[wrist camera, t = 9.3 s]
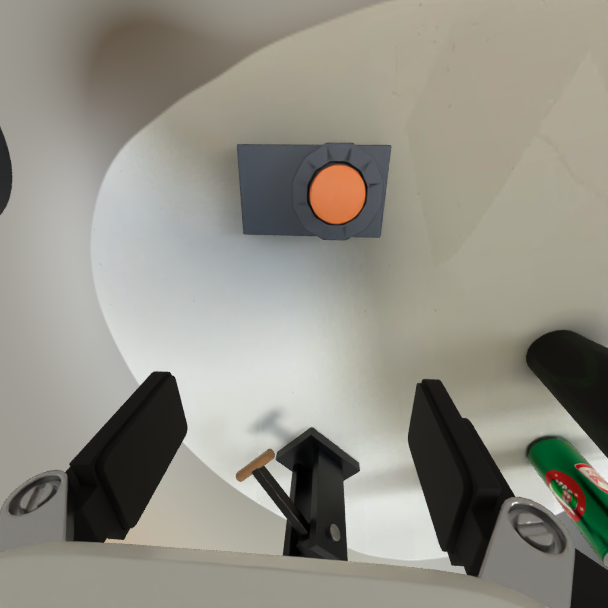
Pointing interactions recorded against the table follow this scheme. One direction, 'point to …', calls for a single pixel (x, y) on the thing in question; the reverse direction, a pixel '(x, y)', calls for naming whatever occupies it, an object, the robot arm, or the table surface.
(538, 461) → the soda can
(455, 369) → the table surface
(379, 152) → the control block
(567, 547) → the robot arm
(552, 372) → the cup
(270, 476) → the lever
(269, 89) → the table surface
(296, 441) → the switch bracket
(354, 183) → the button
